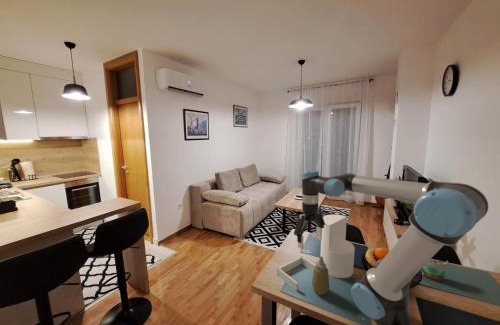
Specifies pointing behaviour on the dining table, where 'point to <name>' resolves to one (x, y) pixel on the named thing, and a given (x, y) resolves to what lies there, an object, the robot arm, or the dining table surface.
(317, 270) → the squeeze bottle
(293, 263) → the cream u-shaped frame
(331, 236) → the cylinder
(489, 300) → the dining table surface
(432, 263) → the food container
